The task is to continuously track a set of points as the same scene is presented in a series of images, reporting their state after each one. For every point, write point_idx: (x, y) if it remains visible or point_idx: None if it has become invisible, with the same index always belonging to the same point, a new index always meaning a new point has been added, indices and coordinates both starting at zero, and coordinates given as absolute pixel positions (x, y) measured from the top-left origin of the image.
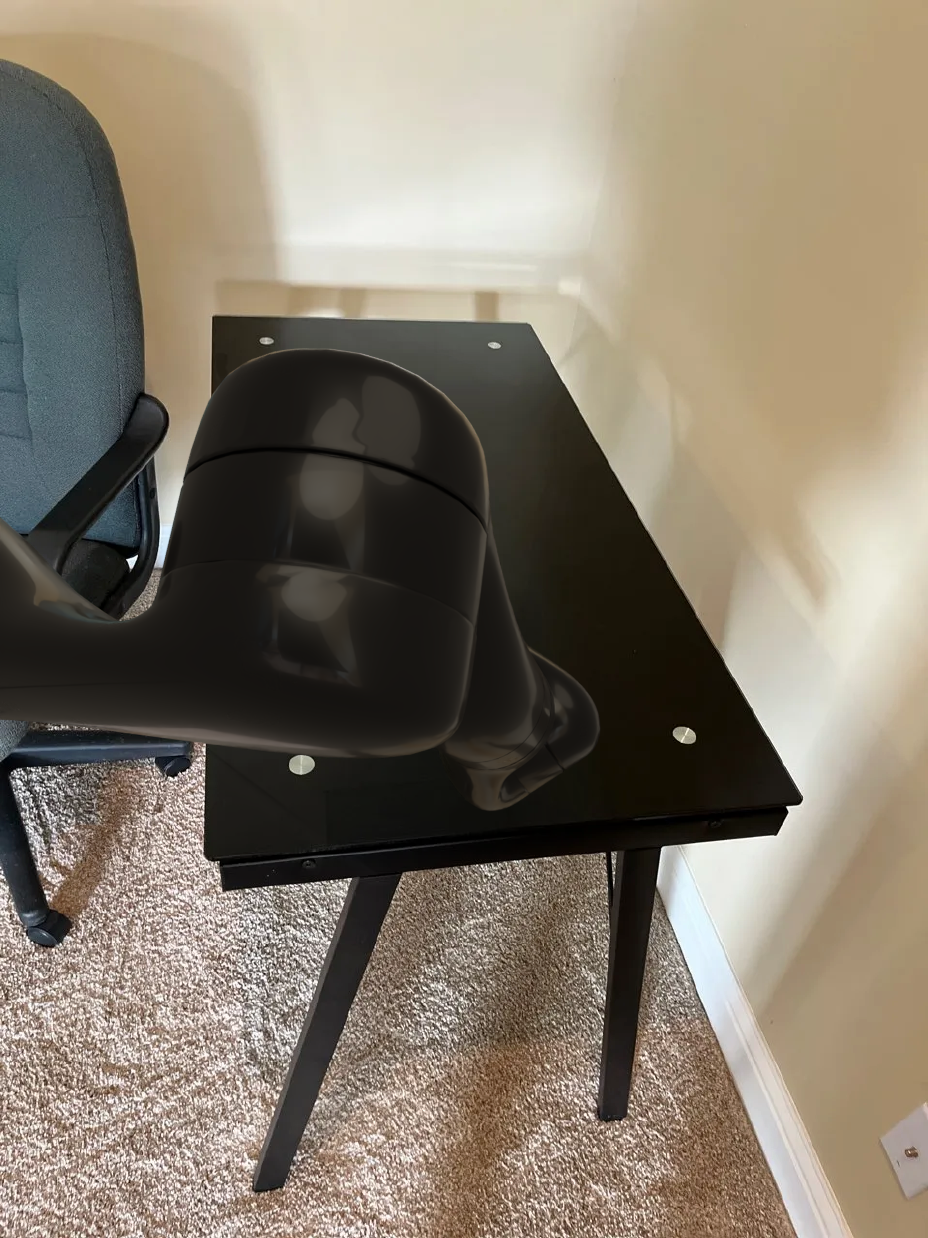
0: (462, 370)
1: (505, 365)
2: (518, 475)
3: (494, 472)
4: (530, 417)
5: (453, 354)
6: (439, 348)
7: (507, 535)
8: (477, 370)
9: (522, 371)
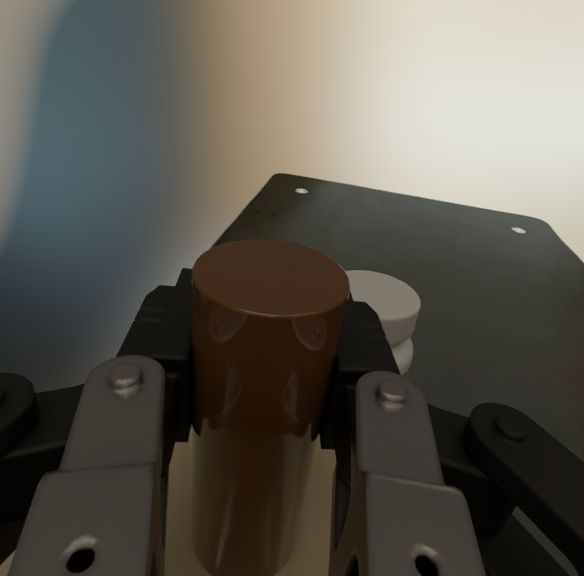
0: (485, 243)
1: (533, 247)
2: (576, 380)
3: (537, 366)
4: (575, 304)
5: (476, 229)
6: (461, 222)
7: None
8: (502, 246)
9: (554, 256)
